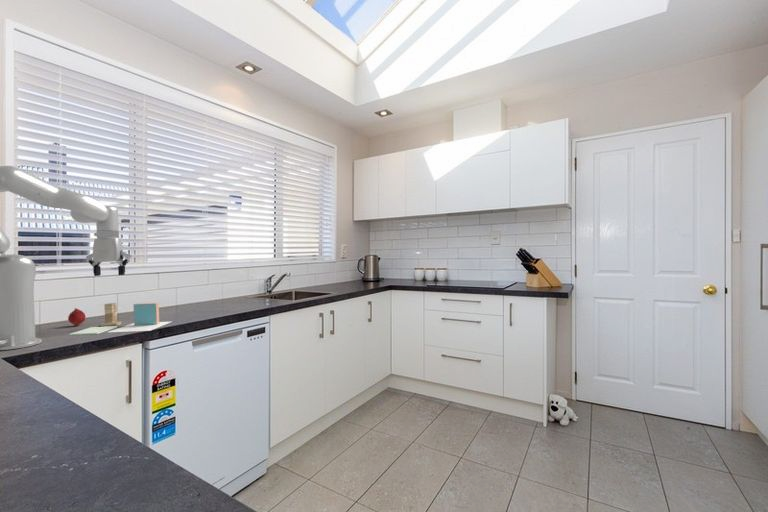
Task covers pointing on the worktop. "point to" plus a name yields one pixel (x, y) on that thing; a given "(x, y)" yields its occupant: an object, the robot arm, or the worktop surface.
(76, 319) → the onion
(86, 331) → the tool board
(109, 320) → the wooden block stack
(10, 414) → the worktop surface
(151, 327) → the mat
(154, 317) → the tile
